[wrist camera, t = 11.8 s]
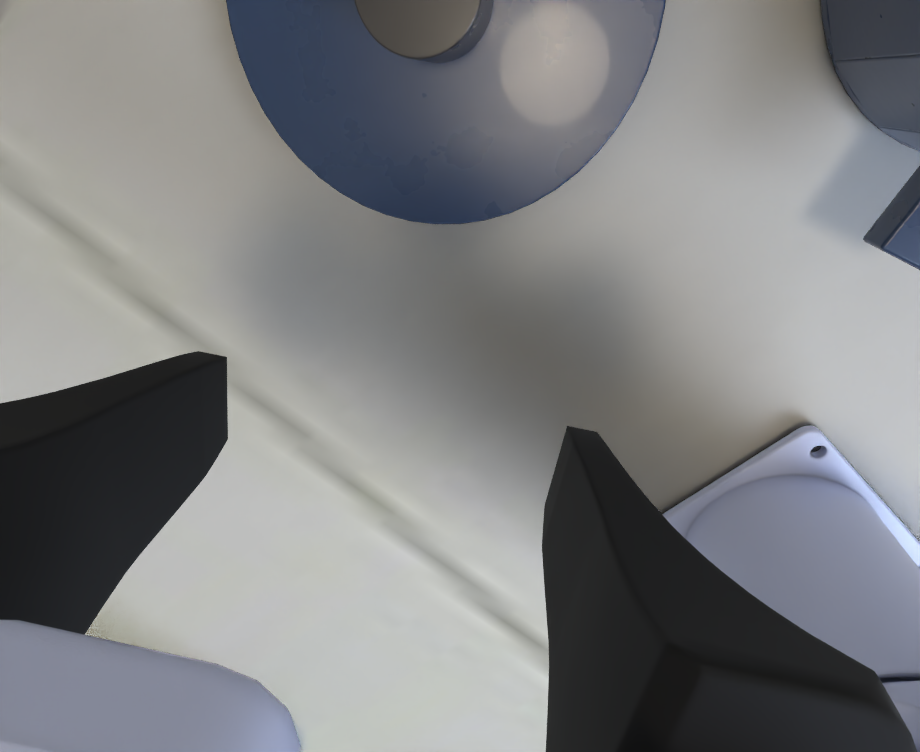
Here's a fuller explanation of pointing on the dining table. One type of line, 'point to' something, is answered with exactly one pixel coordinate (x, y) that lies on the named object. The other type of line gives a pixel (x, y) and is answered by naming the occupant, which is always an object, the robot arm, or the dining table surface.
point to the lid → (445, 94)
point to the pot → (883, 96)
